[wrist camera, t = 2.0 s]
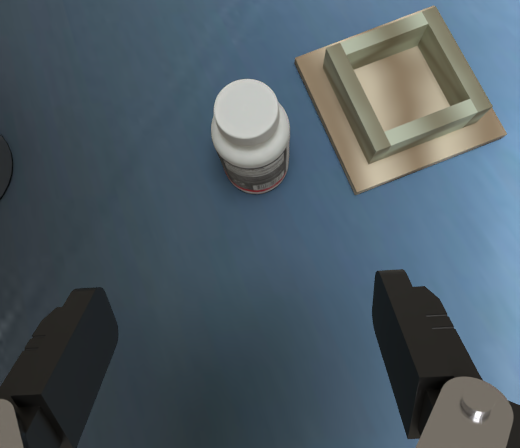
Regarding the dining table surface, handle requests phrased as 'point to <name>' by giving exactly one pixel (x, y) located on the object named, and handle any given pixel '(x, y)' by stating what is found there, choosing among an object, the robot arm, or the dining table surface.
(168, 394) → the dining table surface
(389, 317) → the robot arm
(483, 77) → the dining table surface
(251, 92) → the pill bottle
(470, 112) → the holder
